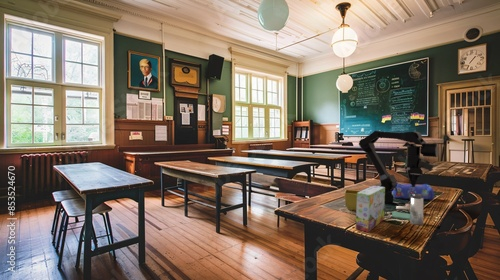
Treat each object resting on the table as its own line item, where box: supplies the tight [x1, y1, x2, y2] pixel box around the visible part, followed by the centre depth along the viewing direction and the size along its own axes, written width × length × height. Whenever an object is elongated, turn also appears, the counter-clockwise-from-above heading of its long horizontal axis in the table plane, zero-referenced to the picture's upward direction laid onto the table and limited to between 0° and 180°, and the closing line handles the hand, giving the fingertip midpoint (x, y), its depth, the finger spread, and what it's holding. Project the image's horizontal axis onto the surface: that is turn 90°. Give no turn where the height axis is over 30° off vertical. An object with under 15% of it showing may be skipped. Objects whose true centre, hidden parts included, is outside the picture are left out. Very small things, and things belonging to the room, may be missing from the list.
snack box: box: [355, 185, 385, 233], centre depth 104 cm, size 21×6×15 cm, turn 137°
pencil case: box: [391, 181, 435, 201], centre depth 148 cm, size 22×9×10 cm, turn 77°
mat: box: [391, 211, 410, 221], centre depth 115 cm, size 8×8×1 cm
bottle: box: [409, 194, 424, 226], centre depth 106 cm, size 5×5×12 cm
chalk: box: [395, 205, 409, 211], centre depth 126 cm, size 7×2×2 cm, turn 80°
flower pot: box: [343, 189, 361, 212], centre depth 126 cm, size 9×9×9 cm
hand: (412, 185), depth 128 cm, fingers open, 9 cm apart
